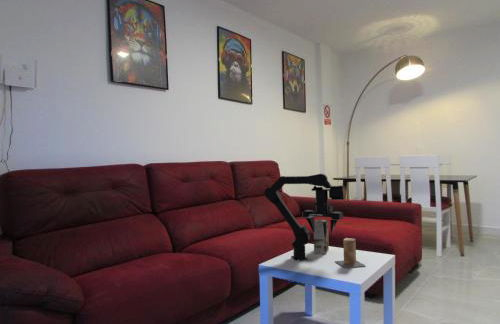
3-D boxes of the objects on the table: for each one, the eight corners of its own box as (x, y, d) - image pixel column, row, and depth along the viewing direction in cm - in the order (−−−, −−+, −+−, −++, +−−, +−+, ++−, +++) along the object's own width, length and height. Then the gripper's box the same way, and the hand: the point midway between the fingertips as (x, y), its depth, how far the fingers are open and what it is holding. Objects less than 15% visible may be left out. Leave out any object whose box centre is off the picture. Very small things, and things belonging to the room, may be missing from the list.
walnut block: (343, 264, 162) (343, 239, 161) (346, 261, 166) (345, 237, 165) (354, 265, 159) (353, 240, 159) (356, 262, 163) (355, 238, 163)
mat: (335, 262, 167) (335, 261, 167) (354, 260, 168) (354, 259, 168) (344, 268, 157) (344, 267, 157) (365, 266, 159) (365, 265, 159)
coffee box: (326, 254, 180) (325, 222, 180) (313, 253, 182) (313, 221, 182) (329, 249, 188) (328, 219, 188) (316, 249, 191) (316, 218, 191)
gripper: (346, 198, 172) (347, 231, 172) (310, 197, 182) (311, 228, 182) (338, 201, 163) (339, 235, 163) (301, 200, 173) (302, 232, 173)
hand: (322, 232), depth 171 cm, fingers open, 9 cm apart
